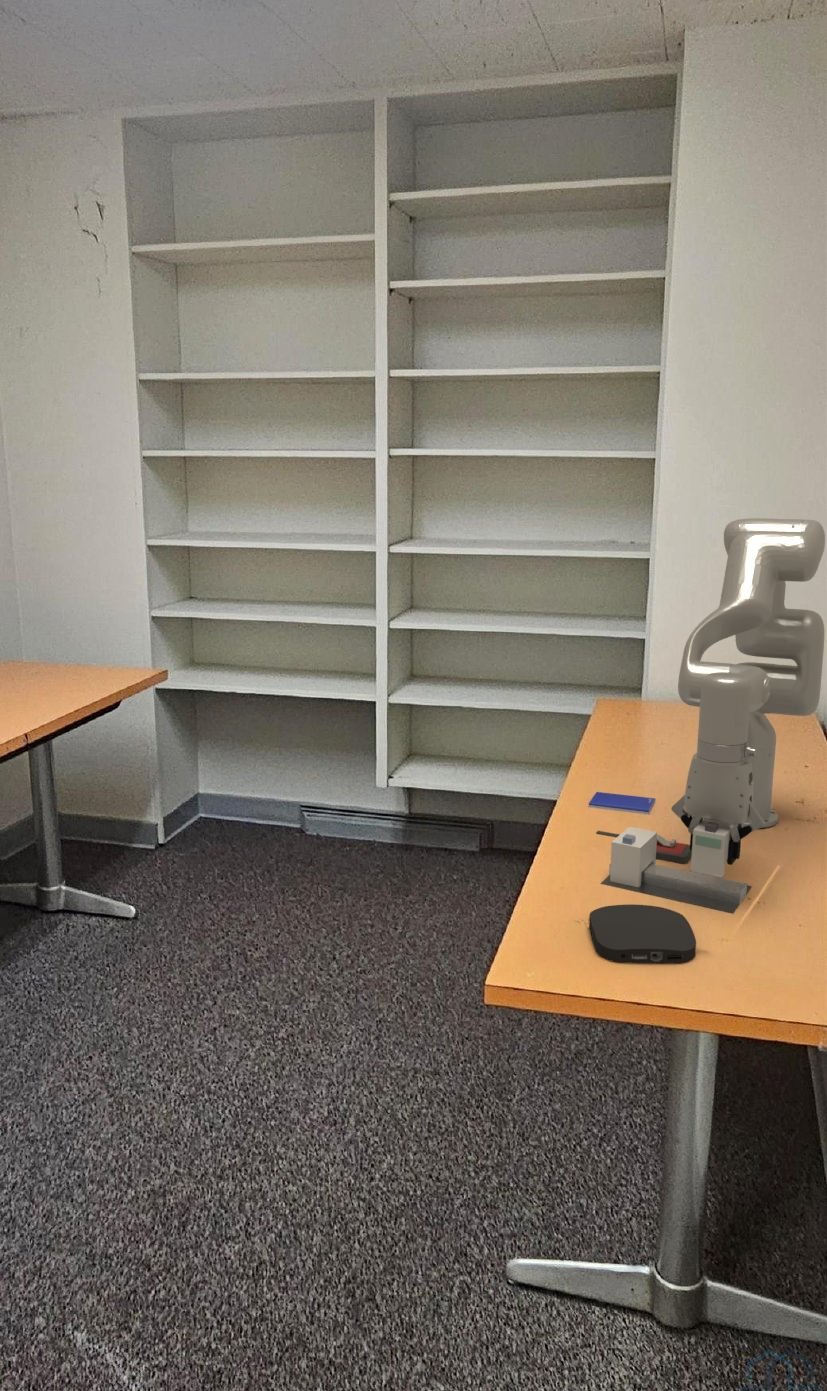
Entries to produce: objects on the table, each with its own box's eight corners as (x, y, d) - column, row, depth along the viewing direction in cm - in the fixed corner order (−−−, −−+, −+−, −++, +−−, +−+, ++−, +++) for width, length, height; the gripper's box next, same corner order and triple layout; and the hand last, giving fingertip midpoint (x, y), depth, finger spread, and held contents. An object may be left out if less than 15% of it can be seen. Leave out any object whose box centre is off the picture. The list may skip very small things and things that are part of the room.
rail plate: (625, 864, 179) (626, 849, 179) (751, 891, 168) (753, 875, 167) (600, 888, 169) (600, 872, 169) (732, 919, 158) (734, 901, 157)
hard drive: (655, 797, 211) (597, 790, 216) (649, 809, 204) (588, 802, 209) (655, 804, 212) (596, 797, 216) (648, 817, 204) (588, 809, 209)
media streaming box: (679, 920, 159) (680, 903, 158) (701, 966, 144) (702, 947, 144) (585, 919, 159) (586, 902, 158) (598, 965, 145) (599, 946, 144)
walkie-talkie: (703, 856, 184) (597, 837, 193) (705, 833, 183) (598, 815, 192) (692, 873, 176) (582, 853, 186) (693, 850, 175) (583, 830, 185)
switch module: (705, 854, 169) (708, 808, 167) (735, 860, 166) (739, 814, 164) (690, 871, 162) (693, 824, 160) (721, 878, 159) (725, 830, 157)
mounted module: (627, 864, 177) (629, 821, 175) (655, 870, 174) (657, 826, 173) (609, 880, 170) (611, 836, 168) (638, 887, 168) (640, 842, 166)
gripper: (782, 752, 158) (773, 861, 162) (676, 737, 167) (670, 841, 171) (771, 764, 152) (762, 877, 156) (661, 748, 161) (655, 855, 165)
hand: (714, 857), depth 164 cm, fingers closed on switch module, 5 cm apart
